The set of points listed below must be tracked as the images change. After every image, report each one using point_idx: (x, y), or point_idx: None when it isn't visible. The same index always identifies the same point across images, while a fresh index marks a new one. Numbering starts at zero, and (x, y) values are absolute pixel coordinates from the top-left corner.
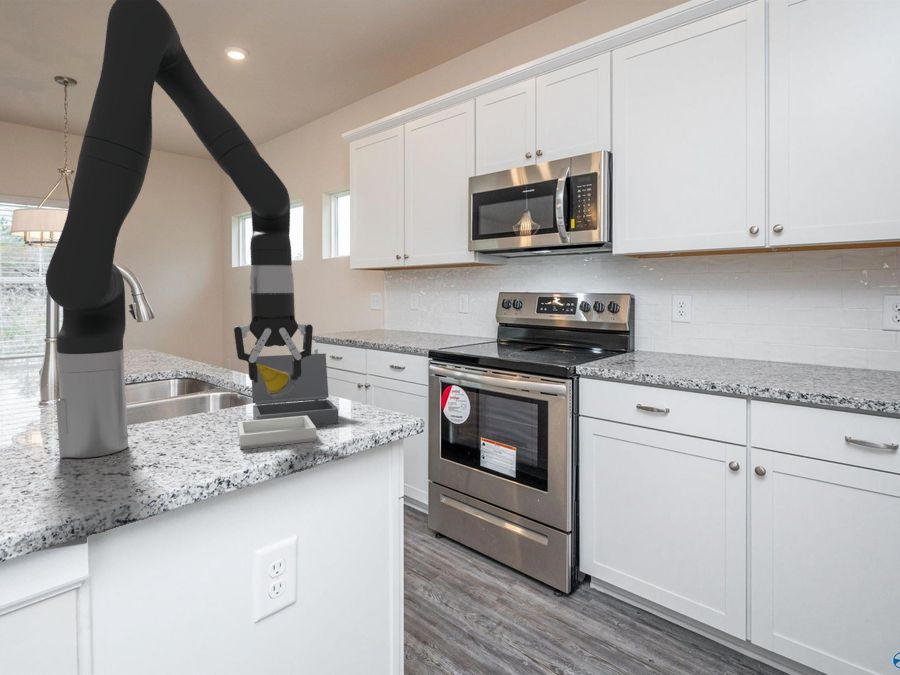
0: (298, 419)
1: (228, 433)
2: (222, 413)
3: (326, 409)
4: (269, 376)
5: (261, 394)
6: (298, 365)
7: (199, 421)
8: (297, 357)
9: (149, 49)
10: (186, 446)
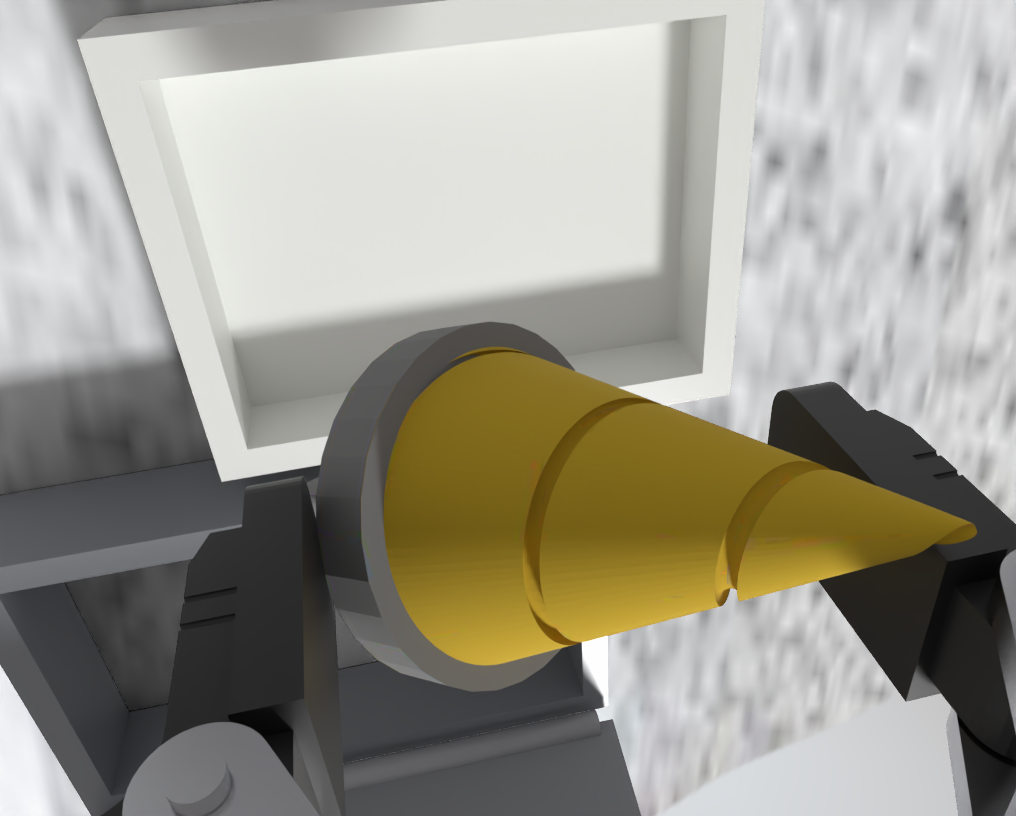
0: (290, 432)
1: (741, 387)
2: (724, 742)
3: (59, 575)
4: (666, 425)
5: (571, 786)
6: (220, 663)
7: (846, 627)
8: (214, 761)
9: None
10: (1005, 158)
